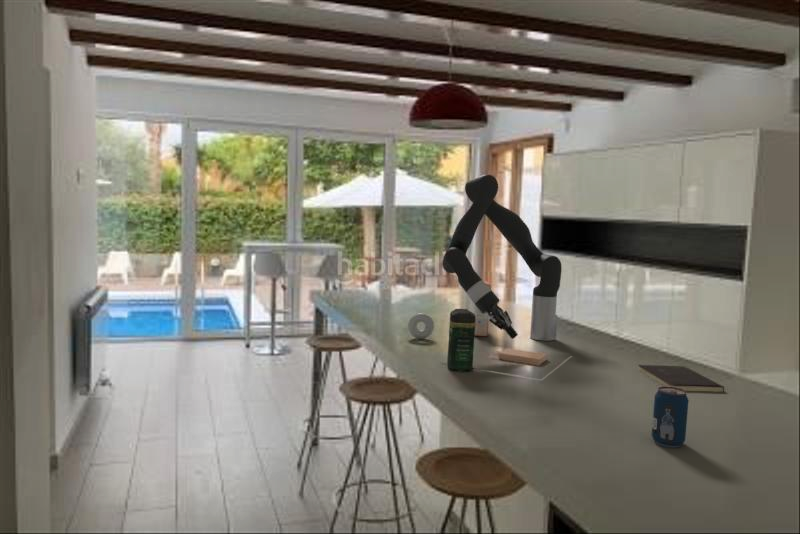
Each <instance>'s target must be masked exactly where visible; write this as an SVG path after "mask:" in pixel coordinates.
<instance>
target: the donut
mask: <svg viewBox="0 0 800 534" xmlns="http://www.w3.org/2000/svg"><path fill="white" fill-rule="evenodd" d="M421 322H422V323H423V324H424V325H425V326H424V328H423V329H422V330H421V329H418V327H417V326H418V324H419V323H421ZM434 329H435V323H434V320H433V318H432V317H431V316H430V315H429V314H427V313H425V312H419V313H416V314H414V315H412V316H411V317H410V318H409V320H408V323H407V330H408V332H409V334H410V336H412V337H413V338H415V339H418V340H419V339H420V340H424V339H427V338H428V337H430V336H431V335H432V333H433V332H434Z"/></svg>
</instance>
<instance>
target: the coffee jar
mask: <svg viewBox="0 0 800 534" xmlns="http://www.w3.org/2000/svg"><path fill="white" fill-rule="evenodd" d="M475 337H476V336H475V315H474V314H473V313H472V311H470V310H469V309H468V308H455V309H453V310H451V311H450V313H449V328H448V345H447V360H446V361H447V363H446V364H447V367H448V368H449V369H450V370H455V371H458V372H465V371H471V370H473V367H474V366H473V364H474V351H475V350H474V349H475V348H474V347H475Z"/></svg>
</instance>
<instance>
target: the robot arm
mask: <svg viewBox="0 0 800 534" xmlns="http://www.w3.org/2000/svg"><path fill="white" fill-rule="evenodd" d="M464 191H465V194H466V196H467V197H468V199H469V201H470V202H471V205H470V207H469V208H468V209H467V211H466V212H465V213H464V214H463V215H462V217H461V218H460V220H459V221H458V222H457V225H456V227H455V229H454V231H453V234H452V238H451V240H450V244H449V246H448V248H447V249H446V251H445V253H444V256H443V258H442V263H441V264H442V268H443V270H444V271H445V272H446V273H449V274H455V275H456V276H457V282H458V284H459V286H461V288H462V289H463V291H464V292H465V293H466V294H467V296H468V297H469V299H470V301H471V302H472V301H473V303H474V304H475V305H476V306H477V308H478V309H479V310H480V311H481V313H482V314H485V313H488V315H489V322H490V323H492V324H493V325H494V326H495V327H497V328H498V329H499V330H502V331H505V332H506V334H507V335H509V337H510V339H515V338H516V337H517V336H518V335H519V334H518V332H517V331H516V330H515V329H514V327H513V326H512V325H513V322H512V320H511V317H510V315H509V312H508V311H506V310H505V311H504V309H503V308H502V307H500V306H499V305H498V304H499V302H500V299H499V296H497V295H496V293H495V292H494V291H493V290H492V288H491V289H490V288H489V286H488V285H487V284H486V283H485V282H484V281H485V280H483V279H482V277H481V276H480V275H479V274H478V273H477V272H476V270H475V269H474V267H473V265H472V264H471V262H470V260H469V258H468V257H467V251H468V250H469V248H470V246H471V244H472V242H473V239H474V237H475V234H476V232H477V230H478V227H479V225H480V223H481V221H482V219H483V218H484V216H486V217H487V218H488V220H489V221H490V222H491V223H492V224H493V225H494V226H495V227H496V228H497V229H498V231H499V232H500V234H501V235H502V236H503V237H504V238H505V239H506V240H507V242H508V243H509V244H510V245H511V246H512V247H513V248H514V249H515V251H516V252H517V253H518V254H519V256H521V257H522V260H523V261H524V262H525V263H526V265H527V267H528V268H529V270H530V271H531V273H533V275H534V276H536V277H538V278H540V279H539V283H538V285H537V286H534V287H533V289H532V300H531V301H532V302H531V303H532V304H531V317H530V318H531V320H530V333H529V334H530V335H529V338H530V339H532V340H534V341H535V340H536V341H541V342H543V341H545V342H546V341H547V342H548V341H549V342H550V341H554V340H557V330H558V315H557V314H556V313H557V301H558V300H557V299H558V298H557V297H558V291H559V290H560V286H561V279H562V271H563V270H562V268H563V267H562V262H561V260H560V258H559V257H558V256H555V255H552V254H545V253H543V252H542V251H541V250H540V248H538V246H537V245H536V244H535V242H534V241H533V238H532V234H531V233H532V232H531V230H530V228H529V227H528V225H527V224H526V223H525V222H524V220H523V218H521V217H520V216H519V215H518V214H517V213H516V212H514V211H512V210H510V209H509V208H507V207H504V206H502V205H500V204H499V202H497V201H496V200H495V198H496V196H497V194H498V191H499V182H498V180H497V179H496V177H495V176H494V175H492V174H487V173H486V174H483V175H480V176H479V175H478V176H476V177H474V178H471V179H469V180H468V181H467V182H466V183H465V185H464Z"/></svg>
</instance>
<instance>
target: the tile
mask: <svg viewBox="0 0 800 534" xmlns="http://www.w3.org/2000/svg"><path fill="white" fill-rule="evenodd" d="M499 352H500V353H499V354H498V358H499V359H503V360H510V361H516V362H522V363H529V364H535V365H539V366H541V365H542V364H543V362H544V361H545V360H546V359H548V354H547V353H543V352H537V351H535V352H534V351H527V350H521V349H516V348H514V349H513V348H505V349H503V350H501V351H499ZM546 361H547V360H546ZM546 361H545V362H546ZM545 362H544V363H545ZM541 363H542V364H541ZM540 364H541V365H540Z"/></svg>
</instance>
